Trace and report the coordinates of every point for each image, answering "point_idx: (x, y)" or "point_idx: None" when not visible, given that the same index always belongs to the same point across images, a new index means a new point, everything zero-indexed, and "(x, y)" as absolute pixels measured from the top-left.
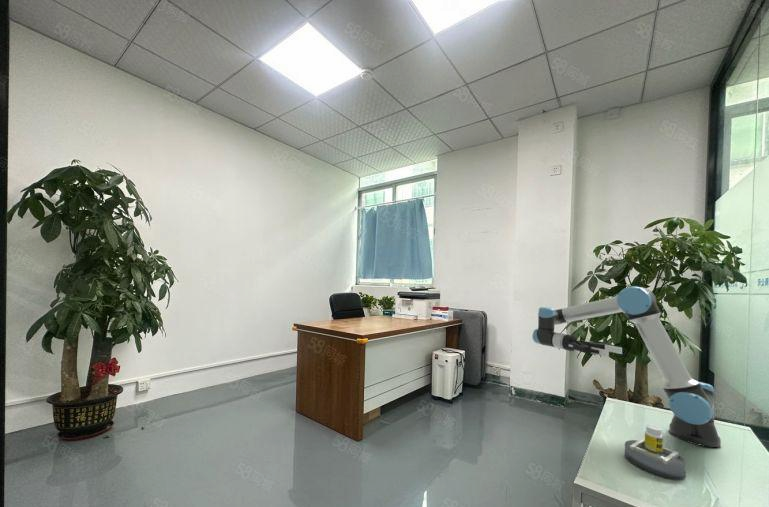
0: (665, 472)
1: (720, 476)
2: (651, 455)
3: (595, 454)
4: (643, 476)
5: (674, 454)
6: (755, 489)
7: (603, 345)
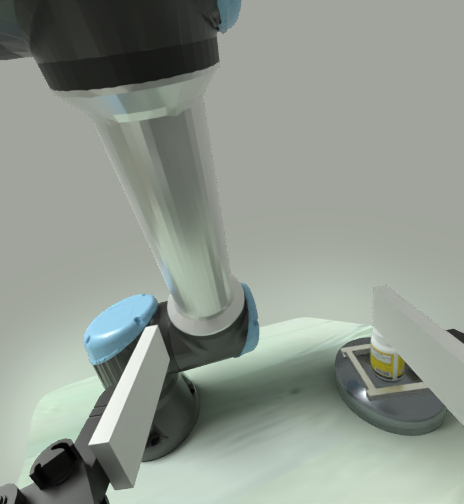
0: None
1: (293, 344)
2: None
3: None
4: None
5: (358, 346)
6: (283, 325)
7: (91, 478)
